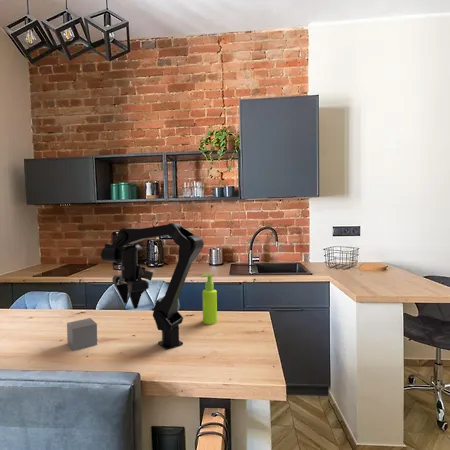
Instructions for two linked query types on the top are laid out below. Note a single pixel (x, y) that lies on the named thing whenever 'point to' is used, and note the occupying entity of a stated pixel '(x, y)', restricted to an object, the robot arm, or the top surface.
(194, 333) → the top surface
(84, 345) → the gray rectangular platform
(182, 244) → the robot arm
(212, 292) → the soap dispenser
